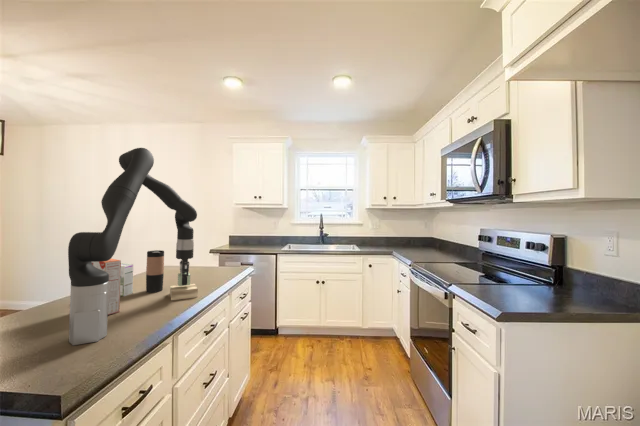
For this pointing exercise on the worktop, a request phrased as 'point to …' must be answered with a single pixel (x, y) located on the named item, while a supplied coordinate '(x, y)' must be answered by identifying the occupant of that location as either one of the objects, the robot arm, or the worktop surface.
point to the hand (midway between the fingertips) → (183, 283)
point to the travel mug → (154, 271)
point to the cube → (181, 279)
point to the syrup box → (126, 279)
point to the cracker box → (112, 282)
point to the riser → (183, 292)
